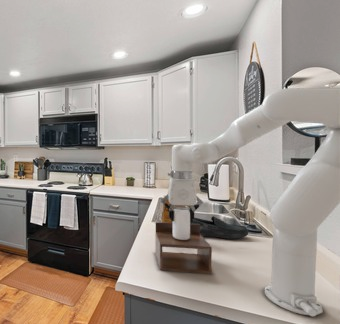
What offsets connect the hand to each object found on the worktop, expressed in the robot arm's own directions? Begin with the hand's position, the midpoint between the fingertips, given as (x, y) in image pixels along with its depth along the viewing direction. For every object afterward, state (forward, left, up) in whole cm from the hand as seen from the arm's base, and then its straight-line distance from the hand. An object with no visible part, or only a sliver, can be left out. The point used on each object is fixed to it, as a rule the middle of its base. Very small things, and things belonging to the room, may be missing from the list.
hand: (181, 220), depth 88 cm
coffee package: (+25, -2, -18) cm, 31 cm away
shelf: (0, 0, -17) cm, 17 cm away
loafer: (+33, -25, -18) cm, 45 cm away
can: (0, 0, -7) cm, 7 cm away
